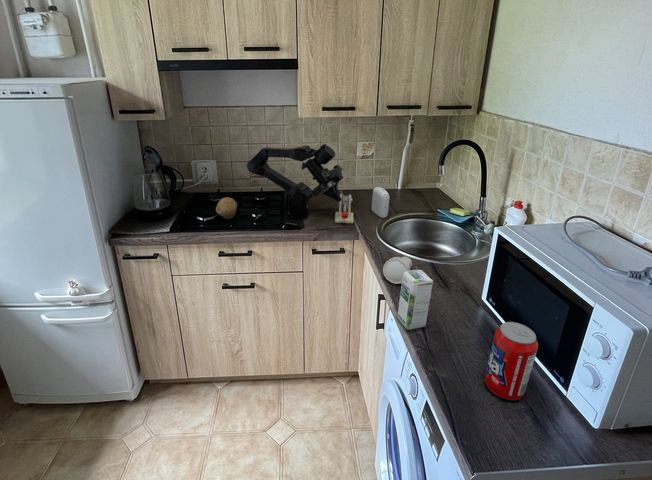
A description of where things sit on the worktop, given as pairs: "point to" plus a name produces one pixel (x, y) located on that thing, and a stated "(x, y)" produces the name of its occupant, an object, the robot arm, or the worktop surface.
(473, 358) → the worktop surface
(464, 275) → the worktop surface
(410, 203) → the worktop surface
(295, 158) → the robot arm
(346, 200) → the switch lever
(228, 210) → the natural sponge
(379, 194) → the photo printer
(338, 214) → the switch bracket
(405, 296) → the syrup box
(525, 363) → the soda can
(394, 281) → the spotlight
